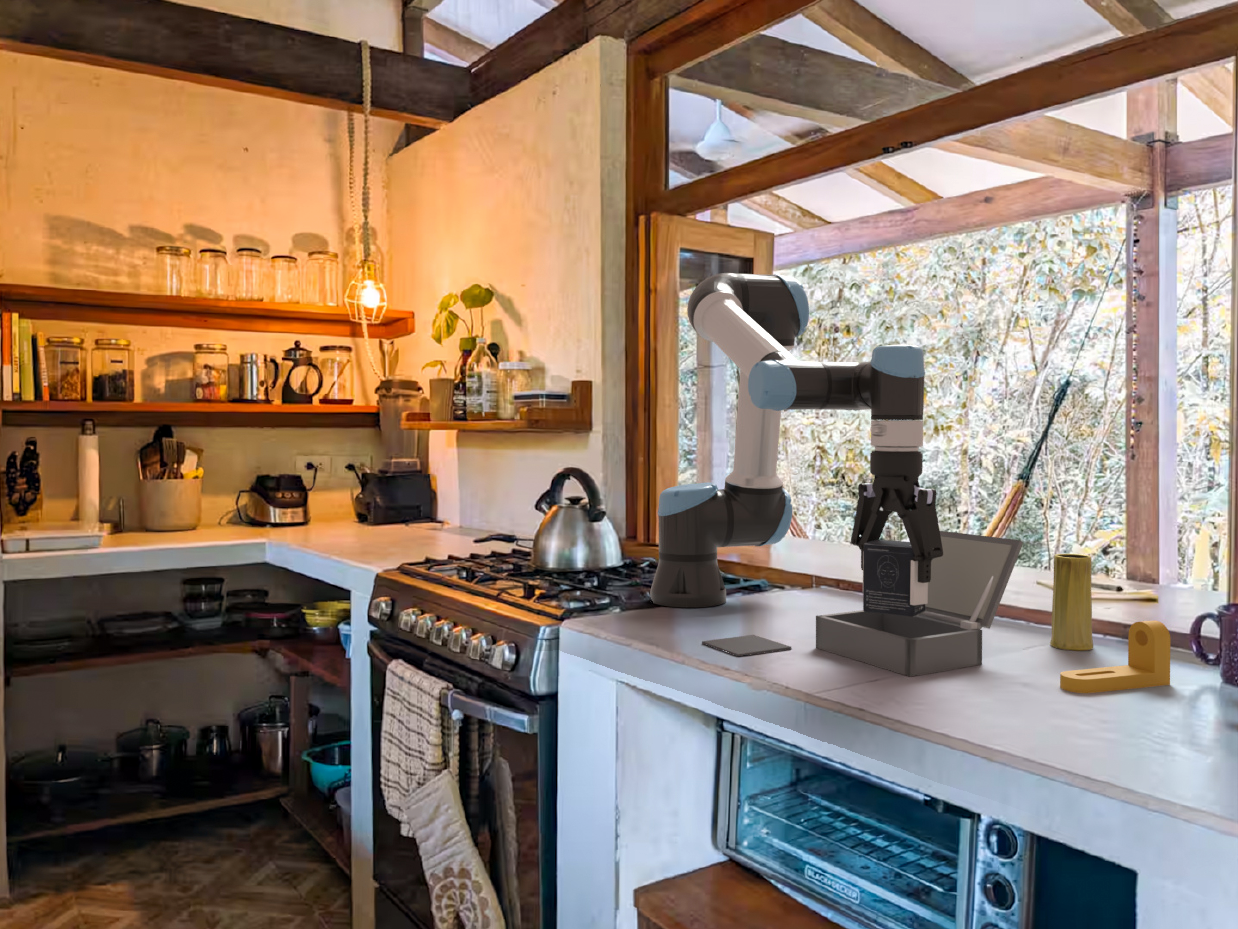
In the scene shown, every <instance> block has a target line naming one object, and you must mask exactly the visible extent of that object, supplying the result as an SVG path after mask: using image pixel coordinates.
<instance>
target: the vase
mask: <svg viewBox="0 0 1238 929" xmlns="http://www.w3.org/2000/svg"><path fill="white" fill-rule="evenodd" d="M1052 584H1053V585H1052V586H1053V589H1052V604H1051V605H1052V606H1051V607H1052V609H1051V639H1050V643H1049V644H1050V646H1051V647H1053V648H1055V649H1059V650H1065V651H1073V652H1074V651H1075V652H1082V651H1083V652H1084V651H1085V652H1086V651H1092V650H1093V649H1094V642H1093V626H1092V625H1093V624H1092V623H1093V606H1092V602H1093V601H1092V600H1093V598H1092V556H1091V555H1088V554H1082V553H1080V554H1079V553H1056V554H1054V556H1053V583H1052Z"/></svg>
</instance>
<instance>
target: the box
mask: <svg viewBox="0 0 1238 929" xmlns="http://www.w3.org/2000/svg"><path fill="white" fill-rule="evenodd" d="M922 552H923V550H922ZM863 554H864V555H863V556H864V558H863V562H864V565H863V570H862V597H863V598H862V599H863V600H862V602H863V603H862V605H863V606H862V607H863V608H862V610H863V611H864V612H873V613H882V614H891V615H900V616H908V617H915V616H918V615H920V614H921V613H923V612H925V604H921V605H910V579H911V560H912V558H914V557H915V555H914V552H913V549H912V547H911V544H910V541H902V540H887V539H879V540H874V541H870V542H867V543H864V552H863Z"/></svg>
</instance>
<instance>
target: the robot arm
mask: <svg viewBox="0 0 1238 929" xmlns="http://www.w3.org/2000/svg"><path fill="white" fill-rule="evenodd" d="M688 299H689V300H688V303H687V309H686V312H687V317H688V321H689V324H690V325H691V327H692V329H693V330H694V331H695V332H696V333H697V334H698V335H699V337H701V338H702V339H703V340H704V341H705V340H706V341H708V342H712V343H714V344H716V346H717V347H718V348H719V349H720V350H721V351H722V352H723V353H724V354H725V355H726V356H727V357H728V358H729V359H730V360H731V361H732V362H733V364H735V366H736V367H738V369H739V384H738V385H739V386H738V399H737V414H736V427H735V443H734V456H733V457H734V458H733V468H732V471H731V473H729V474H728V475H726V477H725V479H724V488H723V489H721V488H720V489H719V487H718V486H717V484H716V483H715V482H700V483H699V482H698V483H686V484H681V485H675V486H672V487H671V486H670V487H668V488H666V489H664V490H662V491H661V492H660V494H659V496H658V510H657V515H658V516H657V517H658V565H657V567H656V571H655V573H654V577H653V580H652V584H651V588H650V590H649V592H650V593H649V598H650V597H651V599H652V601H653V604H655V605H659V606H665V607H672V608H705V607H715V606H720V605H722V604H726V602H727V589H726V586H725V583H724V579H723V577H722V572H721V571H720V568H719V565H718V548H731V547H734V548H735V547H752V546H754V547H763V546H769V545H776V544H778V543H779V542H781V541H782V539H784V538H785V537H786V535H787V534H788V533H789V530H790V526H791V524H792V519H793V513H794V512H793V504H792V498H791V495H790V493H789V492H788V490H786V489H785V488H784V487H783V485H784V482H783V480H782V479H781V478H780V477H779V476H778V474H777V466H778V457H779V456H778V455H779V442H780V429H781V418H782V417H781V415H782V411H787V410H788V411H790V410H791V411H793V410H794V411H796V410H798V411H800V410H804V411H805V410H807V411H808V410H820V411H821V410H824V411H825V410H827V411H829V410H831V411H833V410H835V411H837V410H838V411H839V410H842V411H855V412H856V411H862V410H865V411H866V410H867V411H868V410H870V416H871V417H870V446H871V447H873V448H874V450H872V451H871V452H870V454H869V456H870V459H869V460H870V461H869V462H870V463H869V465H870V466H869V469H870V470H869V471H870V474H871V475H873V476H874V479H873V481H872V482H867V483H866V482H865V483H863V482H862V483H858V486H857V490H858V500H857V507H856V510H855V511H856V512H855V516H854V521H853V527H852V533H851V538H850V541H851V544H852V545H854V546H855V545H856V546H857V547H858V548H859V550H860V569H861V571H863V565H864V562H863V558H864V556H863V555H864V554H863V552H864V543H867V542H870V541H874V540H880V537H881V535H882V533H883V531H884V528H885V527H886V526H885V525H886V523H887V521H888V519H889V516H890V515H891V514H892V513H896V514H897V516H898V517H899V518H900V519H901V520H902V523H903V526H904V529H905V532H906V535H907V537H908V542H910V544H911V547H912V549H913V552H914V555H915V557H914V558H912V560H911V579H910V605H921V604H928V582H930V580H931V561H932V559H934V558H937V557H942V556H943V548H942V542H941V536H940V531H941V530H940V524H939V519H938V515H937V514H938V512H937V506H936V502H937V491H936V489H935V488H923V487H921V486H920V482H919V477H920V476H921V475H923V465H924V464H923V457H924V455H923V452H922V451H920V450H919V448H922V447H923V446H924V405H925V404H924V401H925V400H924V399H925V375H926V370H925V362H924V360H925V359H924V358H925V357H924V354H925V353H924V350H923V348H922V347H920V346H918V345H913V344H889V345H888V344H887V345H878V346H876V347H874V348H873V350H872V353H871V359H870V361H859V362H858V361H854V362H853V361H851V362H850V361H806V360H802V361H801V360H799V359H798V358H797V357H795V356H794V355H793V354H792V353H790V351H791V350H792V349H794V347H795V339H796V338H798V337H800V336H803V334H804V333H805V331H806V329H807V328H806V327H807V326H808V324H809V320H810V319H809V317H810V305H809V300H808V295H807V293H806V290H805V289H804V286H803V284H802V283H801V282H800V281H799V280H798V279H796V278H795V277H793V276H787V275H780V274H760V273H755V274H754V273H753V274H752V273H735V272H734V273H733V272H724V273H723V272H722V273H717V274H714V275H711V276H708V277H707V278H705V279H703V280H702V281H701V282H699V284H698V285H697V286H696V287H695V288H694V289H693V290H692V292H691V294H690V297H689V298H688ZM933 548H934V549H933ZM922 550H923V552H922Z"/></svg>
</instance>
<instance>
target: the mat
mask: <svg viewBox="0 0 1238 929" xmlns="http://www.w3.org/2000/svg"><path fill="white" fill-rule="evenodd" d="M701 644H702V645H704V644H707V645H709V646H708V647H710V646H712V647H715V648H717V649H716V650H718V649H719V650H718V651H721V650H724V651H727V652H729V653H731V654H730V655H732V654H734V655H737V656H741V657H744V656H743V655H748V656H751V655H750V654H755V655H759V654H758V653H762V654H765V653H764V652H769V653H773V652H772V651H776V652H780V651H779V650H783V651H790V650H792V646H790V645H786V644H783V643H781V642H778V641H774V640H771V639H768V638H765V637H762V636H759V635H756V634H749V635H741V636H733V637H725V638H718V639H710V640H702V641H701ZM707 645H706V646H707ZM712 647H711V648H712ZM715 648H714V649H715ZM729 653H728V654H729ZM734 655H733V656H734ZM737 656H736V657H737Z"/></svg>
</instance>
